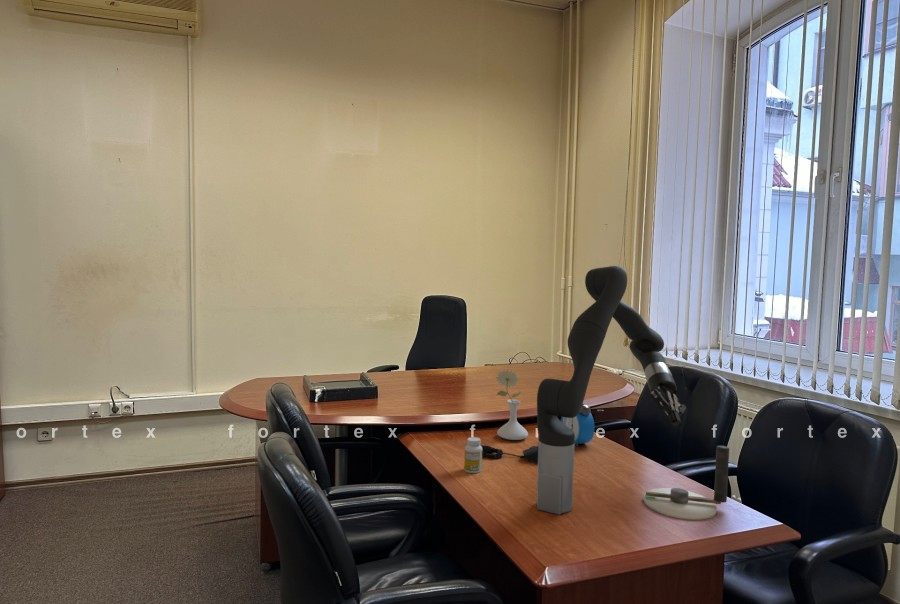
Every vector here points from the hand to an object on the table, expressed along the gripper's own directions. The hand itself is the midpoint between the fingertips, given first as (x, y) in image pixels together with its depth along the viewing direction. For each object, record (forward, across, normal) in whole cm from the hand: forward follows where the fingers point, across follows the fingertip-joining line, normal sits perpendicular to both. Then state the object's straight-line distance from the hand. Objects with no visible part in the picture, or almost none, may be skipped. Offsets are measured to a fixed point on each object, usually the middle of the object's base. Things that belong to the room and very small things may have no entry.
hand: (676, 423), depth 155 cm
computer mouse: (-12, -17, +48) cm, 53 cm away
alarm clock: (-26, +7, +44) cm, 52 cm away
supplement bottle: (0, -34, +50) cm, 61 cm away
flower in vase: (-30, -12, +59) cm, 67 cm away
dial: (+17, +6, +9) cm, 20 cm away
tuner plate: (+17, +5, +11) cm, 21 cm away
